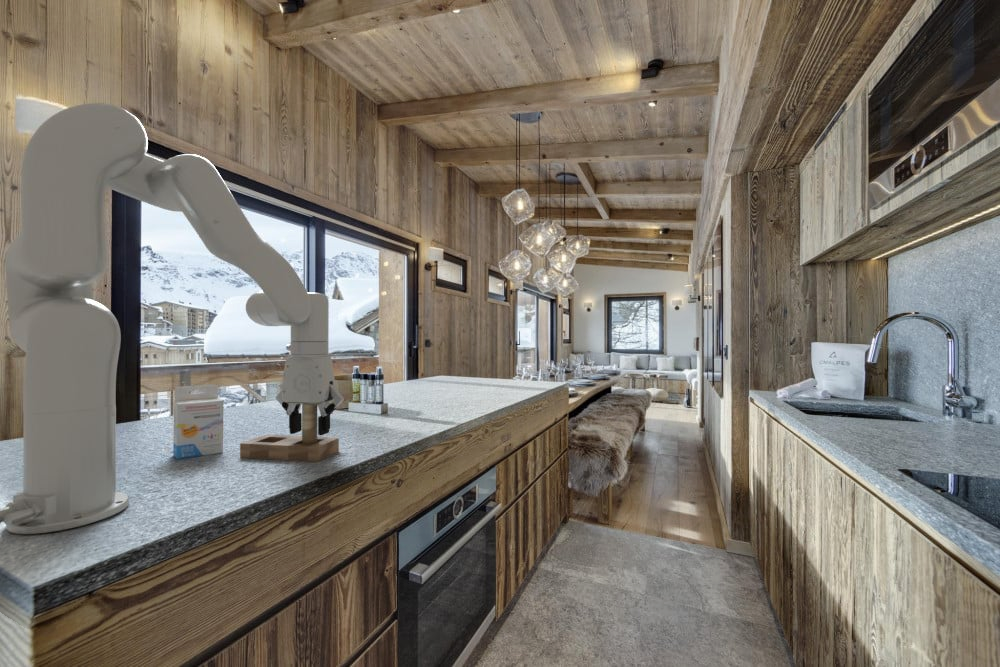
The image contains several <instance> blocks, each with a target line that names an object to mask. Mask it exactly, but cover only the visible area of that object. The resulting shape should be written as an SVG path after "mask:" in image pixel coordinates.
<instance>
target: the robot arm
mask: <svg viewBox="0 0 1000 667" xmlns="http://www.w3.org/2000/svg"><path fill="white" fill-rule="evenodd" d="M148 145H149V142H148V136H147V132H146V130H145V128H144V126H143V124H142V123H141V121H140V120H139V119H138V118H137V117H136V116H135V115H134V114H133V113H131V112H130V111H128V110H126V109H124V108H123V107H121V106H118V105H114V104H109V103H103V102H102V103H101V102H100V103H99V102H98V103H96V102H93V103H92V102H90V103H83V104H78V105H74V106H71V107H67V108H65V109H62V110H60V111H58V112H56V113H55V114H53V115H51V116H50V117H48V118H47V119H46V120H45V121H44V122H43V123H42V124H40V125H39V127H38V128H37V129H36V131H34V133H33V134H32V136H31V138H30V139H29V141H28V142H27V145H26V147H25V150H24V154H23V157H22V162H21V170H20V172H21V173H20V174H21V175H20V189H21V190H20V208H21V209H20V210H21V214H20V215H21V227H20V228H21V229H20V230H21V231H20V233H19V234H18V235H17V236H16V237H15V238H13V240H12V241H10V243H9V245H8V247H7V250H6V254H5V265H4V266H5V268H4V269H5V283H6V284H5V285H6V297H7V299H6V300H7V301H6V302H7V312H8V322H9V323H8V325H9V330H10V336H11V337H12V339H13V342H14V343H15V344H16V346H18V348H19V349H20V350H22V351H23V352H25V359H24V360H25V362H24V363H25V364H24V373H23V382H22V384H23V385H22V412H23V427H22V428H23V430H22V431H23V432H22V433H23V439H22V440H23V444H22V445H23V449H22V450H23V452H22V453H23V455H22V456H23V459H22V460H23V463H22V464H23V465H22V469H23V470H22V471H23V473H22V474H23V475H22V477H23V479H22V480H23V482H22V484H23V488H22V489H23V490H22V492H20V493H17V494H13V495H12V502H8V503H7V504H6V505H5V507H2V508H0V524H1V523H4V524H5V528H6V531H8V532H9V533H13V534H17V535H36V534H45V533H53V532H59V531H65V530H69V529H74V528H77V527H82V526H85V525H90V524H93V523H96V522H98V521H99V522H100V521H101V520H105V519H107V518H110V517H112V516H115V515H116V514H118V513H120V512H122V511H123V510H125V509H126V508H127V507H128V506H129V504H130V496H129V494H126V493H124V492H120V491H119V492H118V491H117V490H116V487H117V485H116V484H117V483H116V482H117V476H116V475H117V471H116V470H117V469H116V468H117V461H116V460H117V406H116V405H117V404H116V397H117V396H116V394H117V393H116V391H117V389H116V388H117V387H116V385H117V371H118V370H117V369H118V362H119V355H120V351H121V340H122V338H121V337H122V335H121V334H122V333H121V328H120V325H119V322H118V321H119V320H118V319H117V318H116V316H115V314H113V312H112V311H111V310H110V309H109V308H108V307H106V306H105V305H103V304H102V303H100V302H98V301H96V300H94V295H93V290H94V289H93V283H94V282H96V281H98V280H100V279H101V278H102V277H103V276H104V275H105V273H106V272H107V269H108V267H109V251H108V250H109V249H108V242H107V241H108V240H107V226H106V207H105V206H106V190H107V189H110V190H113V191H115V192H117V193H120V194H122V195H125V196H127V197H130V198H133V199H135V200H138V201H140V202H143V203H145V204H148V205H150V206H153V207H157V208H160V209H163V210H167V211H171V212H176V213H177V212H179V213H181V212H182V213H183V215H184V217H185V218H186V219H187V221H188V222H189V224H190V225H191V226H192V228H193V230H194V231H195V233H196V234H197V236H198V237H199V239H200V240H201V242H202V243H203V245H204V246H205V247H206V249H207V250H208V251H209V252H210V253H211V255H214V257H216V258H218V259H219V260H222V261H223V262H226V263H228V264H231V265H232V266H234V267H236V268H237V269H240V270H241V271H243V273H245V274H247V275H248V277H250V279H252V280H253V281H254V282H255V283H256V285H258V287H259V288H260V289H261V290H259V291H258V290H257V291H256V292H254V293H253V294H251V295H250V296H249V297H248V299H247V300H246V304H245V311H246V314H247V316H248V318H249V319H250V320H251V321H252V322H254V323H255V324H258V325H260V326H265V327H282V326H283V327H289V326H290V342H289V343H290V344H286V346H285V349H286V351H290V352H289V353H290V356H289V355H288V356H286V359H285V364H284V368H283V374H282V381H281V382H282V384H281V386H282V387H281V390H280V392H279V393H278V394H277V395H276V396H275V399H276V401H277V402H278V403H279V404H280V405H281V407H282V408H283V409H284V411H286V415H287V416H288V420H289V421H288V429H289V434H290V435H294V434H297V433H299V432H302V413H301V412H300V411H301V408H302V407H301V406H302V404H317V409H318V412H319V413H320V416H317V435H319V436H324V435H326V434H329V433H330V429H331V415H333V412H334V411H335V410H336V409H337V408H338V407H339V406H340V405H341V404H342V403H343V402H344V400H345V397H344V396H343V395H342V393H340V391H338V389H337V388H336V380H335V370H334V363H333V360H332V356H331V355H329V317H330V316H329V314H330V312H329V307H330V306H329V298H328V296H327V295H326V294H325V293H322V292H321V293H320V292H313V291H311V292H310V291H309V292H308V290H307V288H306V287H305V285H304V283H303V282H302V280H301V278H300V276H299V275H298V273H297V271H296V270H295V269H294V268H293V266H292V265H291V264H290V262H289V261H288V260H287V259H286V258H285V257H283V255H282V254H281V253H279V252H278V251H277V250H276V249H275V248H274V247H273V246H272V245H271V244H269V243H268V242H267V241H266V240H265V239H263V237H261V236H260V235H259V234H258V233H257V232H256V231H255V229H254V228H253V226H252V225H251V223H250V221H249V220H248V218H247V216H246V214H245V213H244V212H243V211H242V209H241V207H240V205H239V204H238V202H237V200H236V199H235V197H234V195H233V194H232V192H231V191H230V188H229V187H228V185H227V183H225V181H224V178H222V176H221V175H220V173H219V171H218V169H216V167H215V166H214V164H212V163H211V161H210V160H208V159H207V158H205V157H204V156H203V157H202V156H200V155H197V154H192V153H191V154H190V153H186V154H179V155H175V156H173V157H169V158H168V159H166V160H162V159H158V158H156V157H154V156H151V155H149V154H147V152H148ZM330 401H332V402H331V403H330Z"/></svg>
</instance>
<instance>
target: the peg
mask: <svg viewBox="0 0 1000 667" xmlns="http://www.w3.org/2000/svg"><path fill="white" fill-rule="evenodd" d="M301 406H302V407H301V410H302V411H301V412H302V413H301V415H302V429H301V436H302V444H310V445H313V444H316V443H317V437H318V405H317V404H302V405H301Z"/></svg>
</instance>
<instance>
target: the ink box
mask: <svg viewBox="0 0 1000 667" xmlns="http://www.w3.org/2000/svg"><path fill="white" fill-rule="evenodd" d="M196 390H198V391H201V392H200V393H191V392H196ZM202 391H204V392H203V393H202ZM172 447H173V451H172V454H173V456H174V457H175V459H176V460H181V459H189V458H196V457H201V456H202V457H203V456H207V455H209V456H210V455H215V454H216V455H217V454H221V453H224V400H223V399H222V398H220V397H219V385H218V384H216V383H215V384H204V385H202V384H201V385H187V386H176V387H175V388H174V402H173V446H172Z"/></svg>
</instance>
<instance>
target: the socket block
mask: <svg viewBox="0 0 1000 667" xmlns="http://www.w3.org/2000/svg"><path fill="white" fill-rule="evenodd" d="M339 441H340V438H339V437H326V436H325V437H323V436H317V443H316V444H313V445H310V444H302V435H301V436H300V435H285V434H284V435H282V434H281V435H279V434H264V435H261V436H258V437H255V438H252V439H249V440H246V441H243V442H241V443H240V444H239V448H240V449H239V457H240V459H243V458H244V459H258V460H260V459H262V460H275V461H276V460H277V461H293V462H294V461H296V462H314V463H316V462H317V463H319V462H321V461H322V460H325V459H326V458H328V457H331V456H333V455H334V454H336V453H338V452H339V450H340V449H339V448H340V446H339V444H340V442H339Z"/></svg>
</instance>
